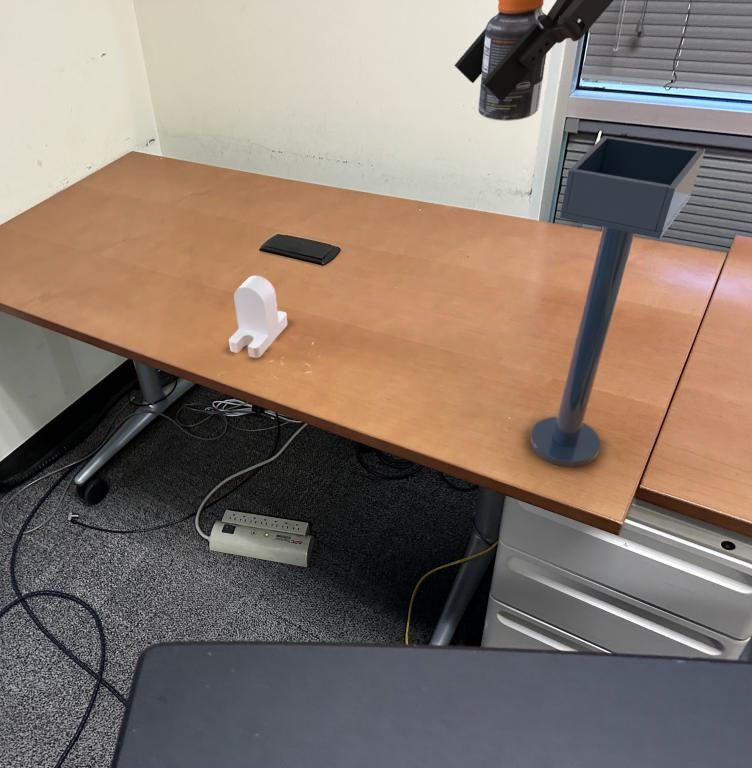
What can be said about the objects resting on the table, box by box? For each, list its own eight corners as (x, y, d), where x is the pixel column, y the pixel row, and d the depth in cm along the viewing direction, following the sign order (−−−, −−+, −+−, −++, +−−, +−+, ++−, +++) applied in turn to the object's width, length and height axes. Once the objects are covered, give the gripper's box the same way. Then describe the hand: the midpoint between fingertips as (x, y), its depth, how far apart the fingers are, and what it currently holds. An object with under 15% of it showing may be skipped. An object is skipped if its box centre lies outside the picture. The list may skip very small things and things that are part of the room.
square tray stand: (613, 437, 83) (705, 149, 60) (586, 480, 78) (675, 188, 56) (543, 411, 88) (603, 135, 65) (514, 450, 83) (568, 170, 60)
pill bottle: (550, 110, 71) (570, -14, 63) (509, 127, 69) (524, 1, 62) (505, 98, 75) (520, -20, 68) (465, 113, 73) (475, -6, 66)
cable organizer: (288, 323, 109) (283, 268, 103) (258, 358, 103) (250, 303, 97) (260, 316, 112) (253, 262, 105) (228, 351, 105) (219, 296, 99)
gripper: (592, -178, 65) (419, 38, 75) (734, -182, 51) (497, 86, 60) (631, -119, 69) (462, 80, 78) (775, -107, 54) (545, 135, 64)
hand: (477, 82), depth 69 cm, fingers closed on pill bottle, 6 cm apart
